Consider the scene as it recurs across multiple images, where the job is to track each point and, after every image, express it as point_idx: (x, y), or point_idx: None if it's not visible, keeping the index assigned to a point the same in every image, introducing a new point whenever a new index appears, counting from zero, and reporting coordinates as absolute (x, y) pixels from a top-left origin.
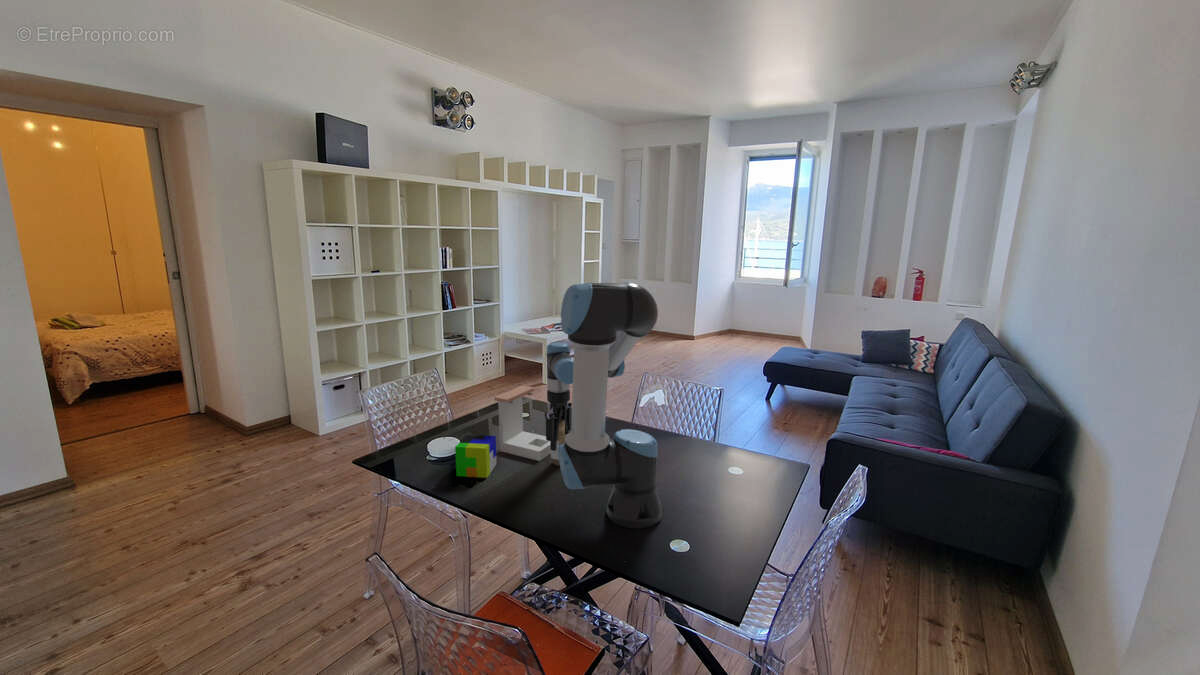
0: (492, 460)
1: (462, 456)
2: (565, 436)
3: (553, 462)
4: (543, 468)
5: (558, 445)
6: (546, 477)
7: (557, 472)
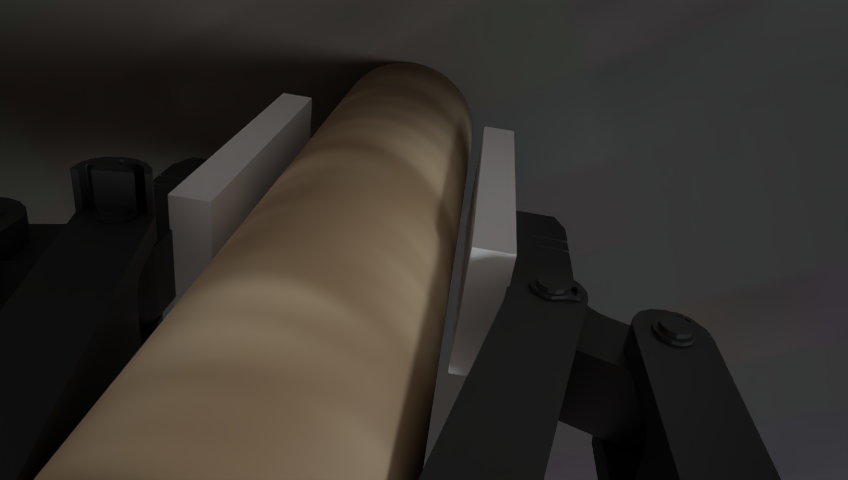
0: None
1: None
2: (449, 361)
3: (353, 86)
4: (211, 17)
5: None
6: (69, 133)
7: None
